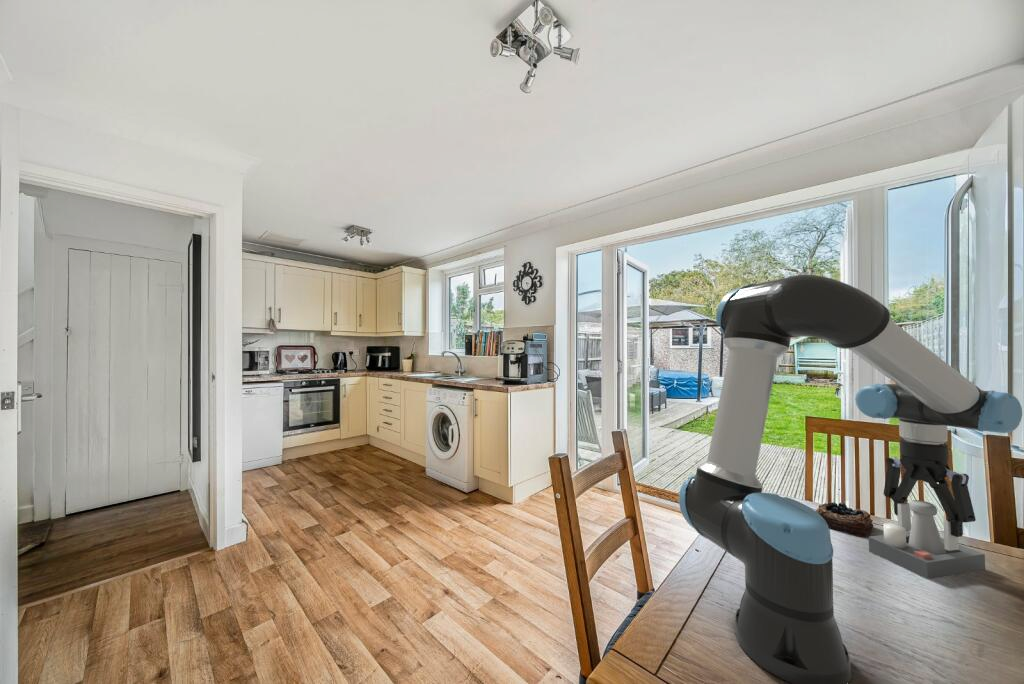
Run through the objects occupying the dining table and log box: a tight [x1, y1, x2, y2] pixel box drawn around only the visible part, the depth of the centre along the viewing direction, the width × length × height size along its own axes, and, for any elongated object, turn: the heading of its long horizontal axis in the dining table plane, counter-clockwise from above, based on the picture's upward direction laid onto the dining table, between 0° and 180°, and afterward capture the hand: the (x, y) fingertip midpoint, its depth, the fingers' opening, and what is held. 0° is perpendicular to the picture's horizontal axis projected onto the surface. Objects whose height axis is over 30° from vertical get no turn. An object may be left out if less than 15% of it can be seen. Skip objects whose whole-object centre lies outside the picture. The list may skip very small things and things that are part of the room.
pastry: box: [815, 501, 874, 538], centre depth 102 cm, size 11×12×6 cm
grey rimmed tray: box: [868, 522, 986, 580], centre depth 85 cm, size 16×11×8 cm
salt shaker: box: [908, 499, 946, 555], centre depth 85 cm, size 6×6×13 cm
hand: (927, 539), depth 85 cm, fingers open, 8 cm apart
